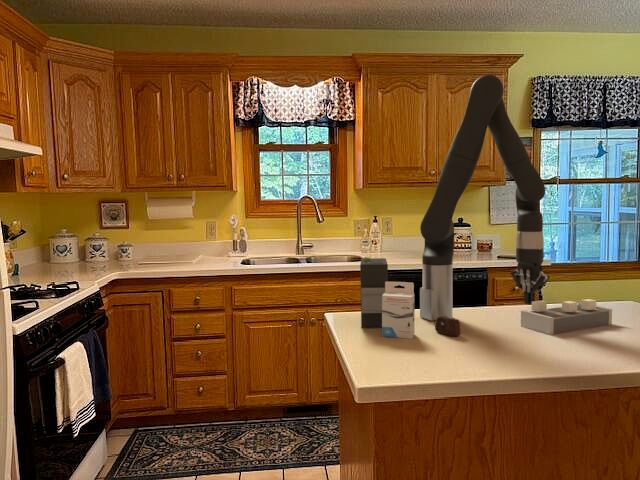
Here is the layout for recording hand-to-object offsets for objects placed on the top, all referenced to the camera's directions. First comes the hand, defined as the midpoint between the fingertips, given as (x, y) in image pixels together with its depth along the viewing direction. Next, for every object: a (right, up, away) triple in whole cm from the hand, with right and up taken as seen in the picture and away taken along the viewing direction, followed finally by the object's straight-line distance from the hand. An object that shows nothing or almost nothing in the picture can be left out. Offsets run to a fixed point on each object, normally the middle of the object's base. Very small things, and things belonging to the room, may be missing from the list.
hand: (529, 304), depth 147 cm
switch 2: (+10, -2, -5) cm, 11 cm away
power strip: (+9, -6, -4) cm, 11 cm away
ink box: (-41, -8, -11) cm, 43 cm away
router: (-46, -6, +6) cm, 46 cm away
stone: (-27, -7, -10) cm, 30 cm away
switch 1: (+1, -2, -4) cm, 4 cm away
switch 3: (+16, -1, -3) cm, 17 cm away
